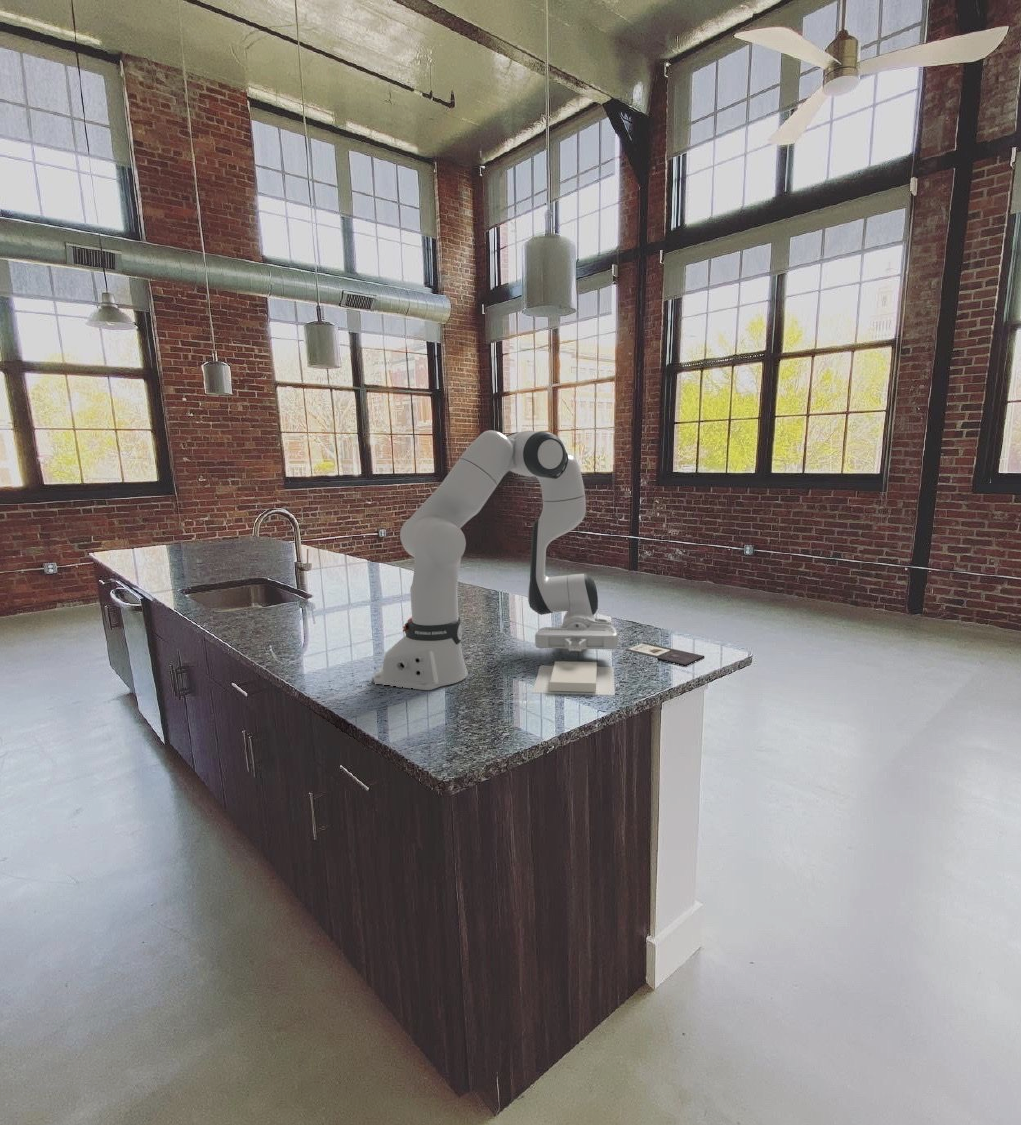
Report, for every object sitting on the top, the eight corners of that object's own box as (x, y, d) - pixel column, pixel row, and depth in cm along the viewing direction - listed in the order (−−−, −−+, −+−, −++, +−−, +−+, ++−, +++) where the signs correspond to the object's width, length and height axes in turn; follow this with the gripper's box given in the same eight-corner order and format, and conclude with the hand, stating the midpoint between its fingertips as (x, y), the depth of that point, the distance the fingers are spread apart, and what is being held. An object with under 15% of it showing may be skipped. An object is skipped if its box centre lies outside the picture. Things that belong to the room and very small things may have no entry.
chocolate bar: (685, 664, 146) (624, 650, 159) (685, 668, 146) (624, 653, 159) (704, 655, 152) (644, 642, 165) (704, 659, 152) (644, 645, 165)
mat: (531, 694, 132) (531, 692, 131) (540, 667, 149) (540, 665, 149) (614, 697, 129) (614, 695, 129) (613, 669, 146) (613, 667, 146)
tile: (555, 670, 145) (550, 692, 131) (555, 661, 145) (549, 682, 131) (596, 671, 144) (596, 693, 130) (596, 662, 143) (595, 683, 130)
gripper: (537, 619, 155) (530, 634, 142) (617, 620, 152) (618, 635, 139) (537, 643, 156) (531, 660, 143) (617, 644, 153) (618, 661, 140)
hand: (574, 648), depth 141 cm, fingers closed
